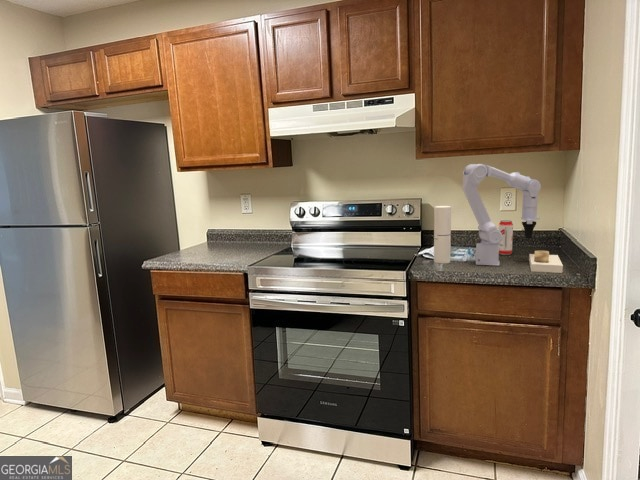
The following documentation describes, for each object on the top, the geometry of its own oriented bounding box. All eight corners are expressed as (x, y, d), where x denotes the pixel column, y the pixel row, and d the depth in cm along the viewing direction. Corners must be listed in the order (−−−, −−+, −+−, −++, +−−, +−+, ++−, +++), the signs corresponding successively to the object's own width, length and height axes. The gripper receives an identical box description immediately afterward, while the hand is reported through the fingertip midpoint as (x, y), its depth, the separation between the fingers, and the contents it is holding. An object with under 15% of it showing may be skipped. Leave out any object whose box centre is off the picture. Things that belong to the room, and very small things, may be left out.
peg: (534, 269, 176) (535, 252, 174) (533, 266, 180) (533, 250, 179) (549, 270, 174) (550, 253, 173) (547, 267, 179) (548, 250, 177)
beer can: (508, 252, 209) (509, 219, 207) (514, 255, 203) (515, 221, 200) (495, 253, 209) (496, 220, 206) (501, 255, 203) (502, 222, 200)
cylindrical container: (446, 264, 191) (446, 207, 186) (431, 262, 195) (431, 207, 191) (452, 261, 196) (453, 206, 192) (438, 259, 201) (438, 205, 196)
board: (531, 271, 173) (531, 264, 173) (529, 260, 191) (529, 253, 191) (562, 273, 169) (562, 265, 168) (557, 261, 187) (557, 255, 186)
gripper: (541, 208, 177) (539, 241, 180) (539, 205, 190) (537, 235, 193) (522, 208, 180) (520, 240, 182) (521, 205, 193) (520, 235, 195)
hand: (528, 238), depth 188 cm, fingers closed
